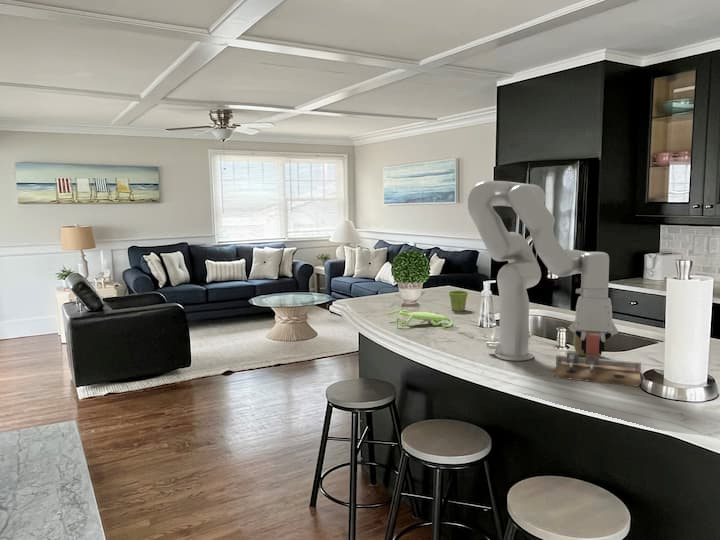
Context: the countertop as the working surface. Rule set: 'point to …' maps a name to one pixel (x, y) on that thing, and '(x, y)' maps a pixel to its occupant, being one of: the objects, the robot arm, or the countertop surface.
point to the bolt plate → (599, 373)
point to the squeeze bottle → (579, 343)
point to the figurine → (422, 317)
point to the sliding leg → (592, 350)
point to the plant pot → (458, 300)
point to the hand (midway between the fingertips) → (592, 352)
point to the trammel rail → (574, 358)
